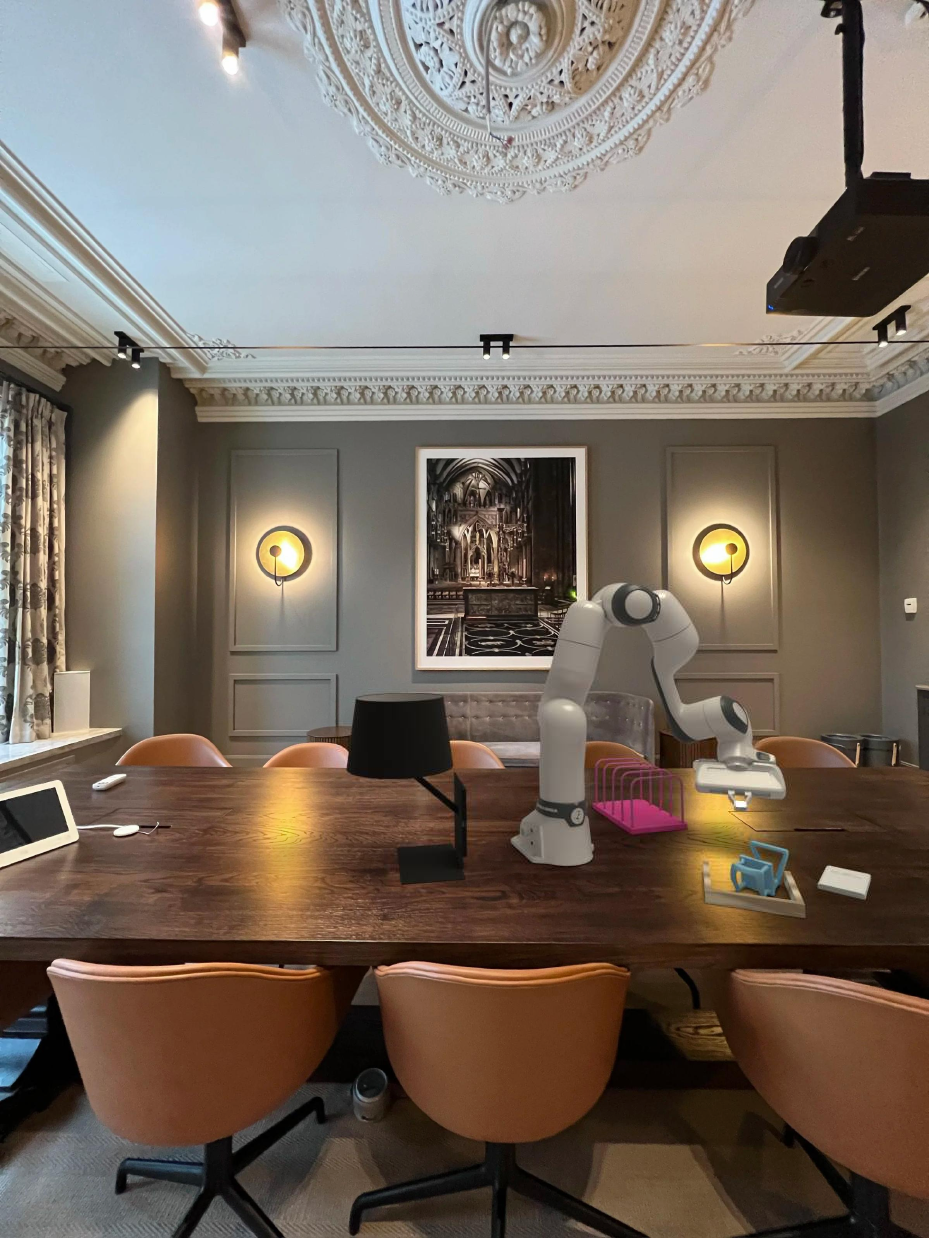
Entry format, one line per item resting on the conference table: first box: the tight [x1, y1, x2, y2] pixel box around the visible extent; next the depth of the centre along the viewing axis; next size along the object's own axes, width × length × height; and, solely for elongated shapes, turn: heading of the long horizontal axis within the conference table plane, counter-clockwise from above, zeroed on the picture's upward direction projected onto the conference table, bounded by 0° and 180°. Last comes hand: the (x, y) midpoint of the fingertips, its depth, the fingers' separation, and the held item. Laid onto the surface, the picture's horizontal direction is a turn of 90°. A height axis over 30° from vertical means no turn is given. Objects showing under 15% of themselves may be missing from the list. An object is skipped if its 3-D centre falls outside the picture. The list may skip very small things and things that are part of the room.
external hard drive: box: [817, 865, 872, 900], centre depth 119 cm, size 2×8×12 cm
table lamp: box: [345, 692, 468, 886], centre depth 133 cm, size 26×28×40 cm
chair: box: [729, 840, 789, 897], centre depth 116 cm, size 8×8×12 cm
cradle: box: [702, 860, 806, 919], centre depth 115 cm, size 16×17×2 cm
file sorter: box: [592, 757, 688, 835], centre depth 165 cm, size 17×25×16 cm
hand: (740, 810), depth 132 cm, fingers closed
